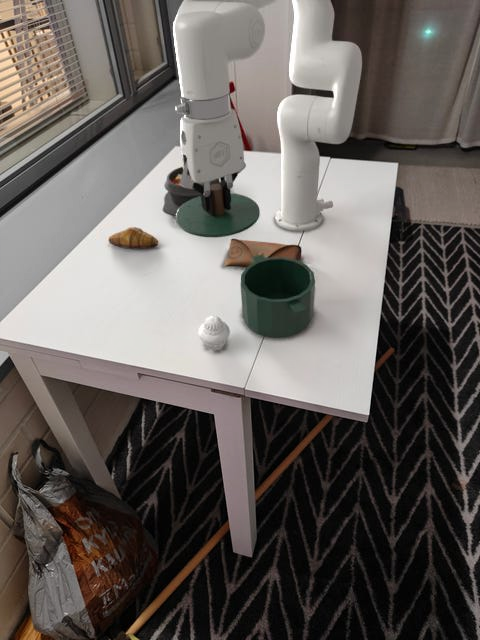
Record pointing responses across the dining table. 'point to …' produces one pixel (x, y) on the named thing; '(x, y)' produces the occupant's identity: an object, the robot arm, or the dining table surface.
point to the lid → (218, 215)
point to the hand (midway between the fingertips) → (217, 209)
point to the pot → (277, 296)
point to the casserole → (178, 192)
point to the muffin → (214, 333)
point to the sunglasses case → (258, 252)
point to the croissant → (133, 239)
